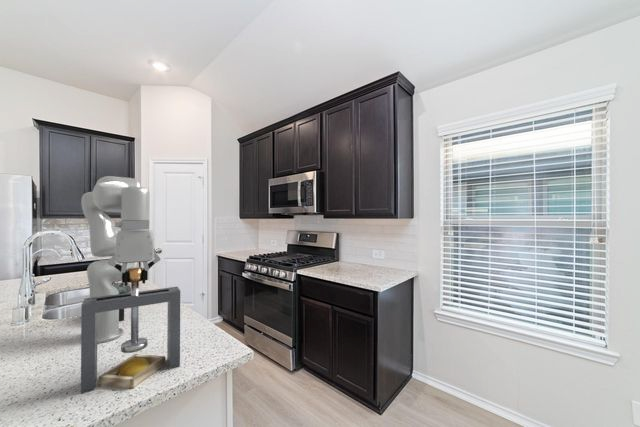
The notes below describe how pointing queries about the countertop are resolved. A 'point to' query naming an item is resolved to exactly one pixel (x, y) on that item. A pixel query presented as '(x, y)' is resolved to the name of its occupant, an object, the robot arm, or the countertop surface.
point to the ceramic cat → (122, 290)
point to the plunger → (134, 314)
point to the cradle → (131, 382)
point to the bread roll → (133, 367)
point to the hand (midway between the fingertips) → (135, 283)
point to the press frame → (121, 302)
